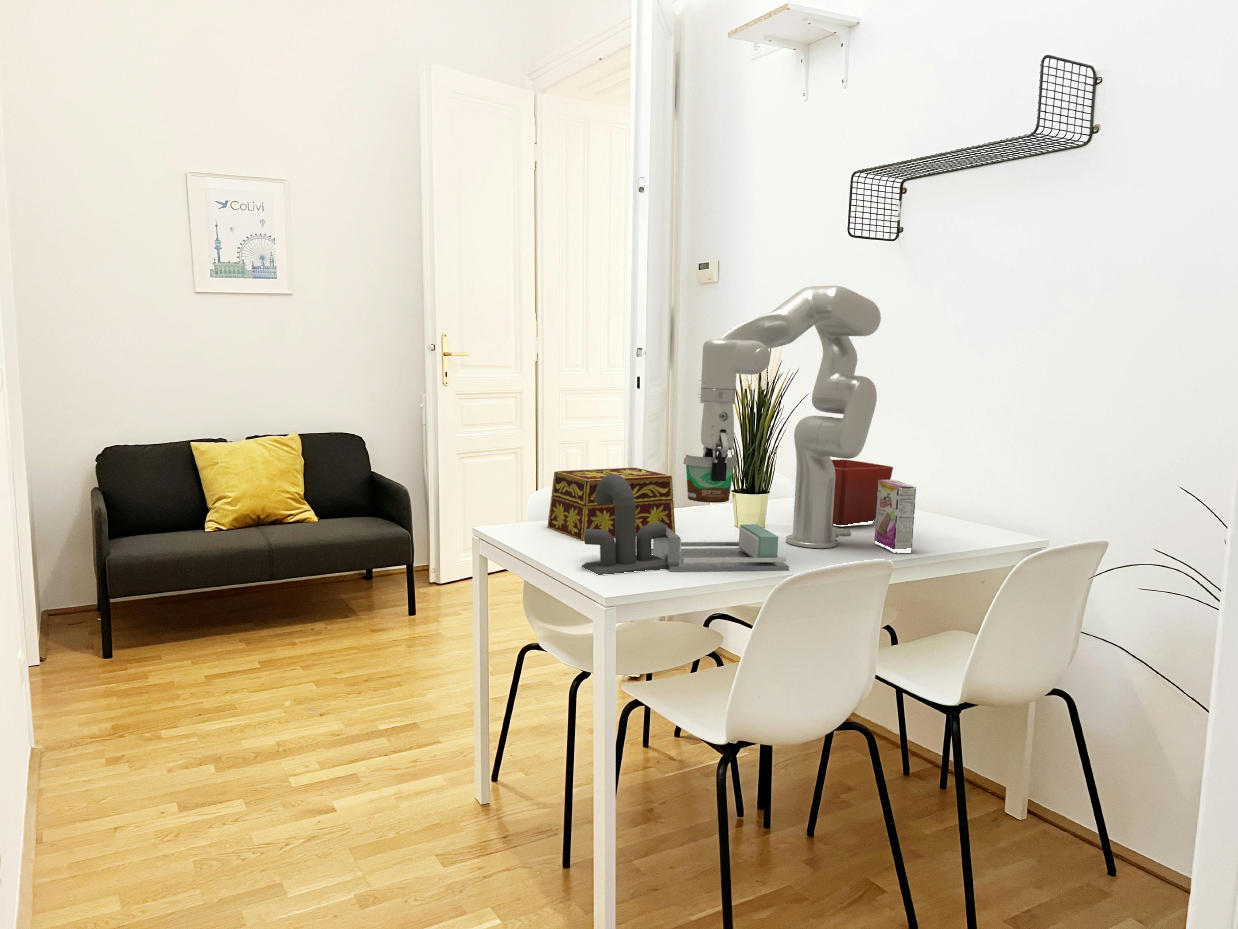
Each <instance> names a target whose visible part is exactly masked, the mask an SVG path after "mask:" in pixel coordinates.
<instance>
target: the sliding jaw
mask: <svg viewBox="0 0 1238 929" xmlns="http://www.w3.org/2000/svg"><path fill="white" fill-rule="evenodd" d="M738 532H739V534H738V542H739V546H738V548H739V549H740V550H742V551H743V552H745V553H746V554H748V555H749V556H751V557H778V555H779V554H778V553H779V552H778V549H779V536H778V535H776V534H775V533H773V532H771V531H769V530H767V529H766V528H764V527H762V526H761V525H759V524H756V523H755V524H754V523H753V524H752V523H751V524H749V523H748V524H747V523H746V524H743V523H741V524H740V525H739V529H738ZM759 563H770V562H759Z"/></svg>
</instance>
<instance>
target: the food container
mask: <svg viewBox="0 0 1238 929" xmlns="http://www.w3.org/2000/svg"><path fill="white" fill-rule="evenodd" d="M712 463H714V461H713V457H703V456H696V455H690V454H685V457H684V458H683V465H685V466H686V468H685V469H686V470H685V471H686V484H687V485H686V486H687V488H686V489H687V500H690V501H693V502H699V503H706V504H707V503H708V504H709V503H712V504H713V503H715V504H718V503H727V502H729V501H730V496H731V495H730V494H731V487H732V482H733V475H734V468H735V467H737V466H738V463H737V458H736V455H735V454H732V456H729V457H728V456H727V469H726V481H712V480H711V470H712Z"/></svg>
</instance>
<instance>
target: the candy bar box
mask: <svg viewBox="0 0 1238 929" xmlns="http://www.w3.org/2000/svg"><path fill="white" fill-rule="evenodd" d="M916 493H917V487H916V486H914V485H911V484H907V483H905V482H902V481H899V480H896V479H890V480H878V492H877V510H876V518H875V527H874V528H875V529H874V541H877V542H879V543H881V544H883V545H885V546H888V547H890V548H892V549H907V548H912V549H913V538H914V524H915V523H914V522H915V510H916V495H917V494H916Z"/></svg>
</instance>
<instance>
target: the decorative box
mask: <svg viewBox="0 0 1238 929" xmlns="http://www.w3.org/2000/svg"><path fill="white" fill-rule="evenodd" d="M609 474H617V475H620V476H621V477H623V478H624V479H625V480H626V481H627V482H628V484H629V485H630V487H631V489H632V492H633V495H634V499H635V507H636V537H637V534H638V532H639V530H640V529H641V528H642V527H643V526H645V525H648V524H654V523H661V522H662V523H664V525H666V526H667V527H668V528H669V529H671V530H672V531H673V532H674V533H676V523H675V522H676V520H675V507H674V491H673V490H674V489H673V487H674V486H673V477H672V475H669V474H665V473H662V472H656V471H651V470H648V469H643V468H639V467H619V468H614V467H613V468H598V469H597V468H595V469H594V468H593V469H577V470H571V469H570V470H557V471H554V472H553V479H552V480H553V481H552V488H551V496H550V502H549V503H550V504H549V511H548V520H547V527H546V528H547V529H549V530H553V531H555V532H557V533H560V534H562V535H565V534H566V535H565V536H568V537H571V538H573V539H575V538H576V540H578V541H581V542H584V534H585V530H586V529H600V530H605V531H607V532H609V533H610V534H611V535H612V536H613V538H614V539H615V505H614V502H613V503H611V504H597V503H596V502H595V493H596V488H597V486H598V484H599V482H600V481H601V480H602V478H603V477H605V476H607V475H609Z"/></svg>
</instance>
